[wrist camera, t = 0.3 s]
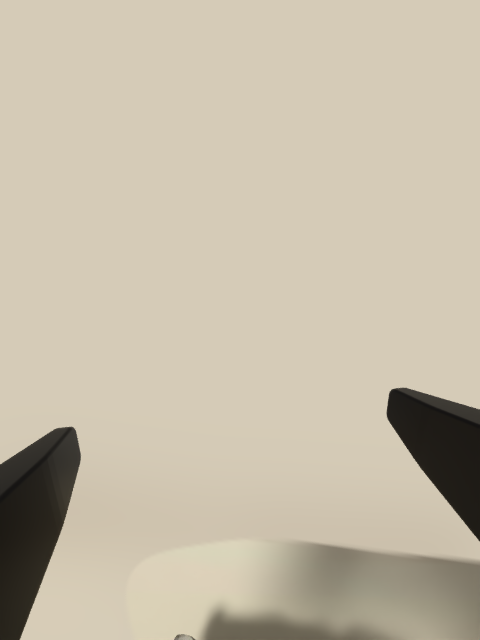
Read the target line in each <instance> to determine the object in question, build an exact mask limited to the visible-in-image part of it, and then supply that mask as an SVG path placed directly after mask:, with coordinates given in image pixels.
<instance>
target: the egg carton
mask: <svg viewBox="0 0 480 640" xmlns="http://www.w3.org/2000/svg"><path fill="white" fill-rule="evenodd" d="M174 640H195V639H194V638H193V637H191V636H188V635H184V634H182V635H177V636H176V637H175V639H174Z"/></svg>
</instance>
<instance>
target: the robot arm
mask: <svg viewBox="0 0 480 640" xmlns="http://www.w3.org/2000/svg"><path fill="white" fill-rule="evenodd" d="M387 418H388V420H389V422H390V424H391V425H392V427H393V428H394V429H395V431H396V432H397V434H398V435H399V437H400V438H401V440H402V441H403V443H404V444H405V446H406V447H407V449H408V450H409V452H410V453H411V455H412V456H413V458H414V459H415V461H416V462H417V463H418V464H419V466H420V468H421V469H422V470H423V471H424V473H425V474H426V475H427V476H428V478H429V479H430V480H431V481H432V483H433V484H434V485H435V486H436V488H437V489H438V490H439V491H440V493H441V494H442V495H443V496H444V498H445V499H446V500H447V501H448V503H449V504H450V505H451V506H452V507H453V509H454V510H455V511H456V513H457V514H458V515H459V516H460V518H461V519H462V520H463V521H464V522H465V524H466V525H467V526H468V528H469V529H470V530H471V531H472V533H473V534H474V535H475V536H476V537H477V539H478V540H479V541H480V410H479V409H476V408H473V407H469V406H466V405H462V404H459V403H455V402H452V401H449V400H445V399H441V398H439V397H435V396H432V395H428V394H425V393H421V392H418V391H415V390H411V389H408V388H396V389H392V390H391V391H390V393H389V399H388V406H387ZM80 460H81V454H80V449H79V444H78V439H77V434H76V430H75V429H74V428H73V427H65V428H57V429H54V430H53V431H51V432H50V433H48V434H47V435H45V436H44V437H42V438H41V439H39V440H37V441H36V442H34V443H33V444H31V445H30V446H28V447H27V448H25V449H24V450H22V451H20V452H19V453H17V454H16V455H14V456H13V457H11V458H10V459H8V460H7V461H5V462H3V463H2V464H0V640H20V638H21V635H22V632H23V630H24V627H25V624H26V622H27V619H28V617H29V614H30V611H31V609H32V606H33V604H34V601H35V598H36V596H37V593H38V590H39V588H40V585H41V583H42V580H43V577H44V574H45V572H46V569H47V567H48V564H49V562H50V559H51V556H52V554H53V551H54V548H55V546H56V543H57V541H58V538H59V535H60V532H61V530H62V527H63V524H64V520H65V517H66V514H67V510H68V506H69V502H70V499H71V495H72V491H73V487H74V484H75V480H76V476H77V472H78V468H79V465H80Z"/></svg>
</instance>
